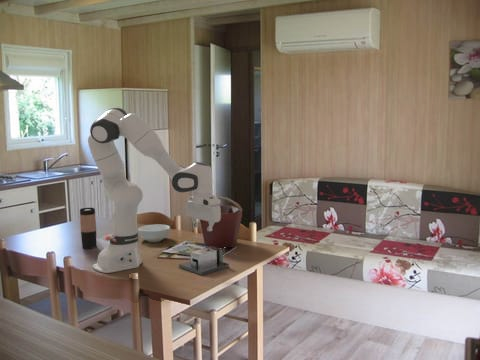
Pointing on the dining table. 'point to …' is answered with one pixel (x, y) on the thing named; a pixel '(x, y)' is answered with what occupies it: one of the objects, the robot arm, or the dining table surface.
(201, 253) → the block
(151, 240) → the cereal bowl
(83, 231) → the travel mug
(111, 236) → the robot arm
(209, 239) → the bucket
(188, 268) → the coupler plate
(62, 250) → the dining table surface
